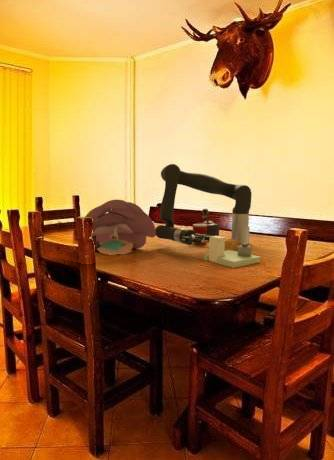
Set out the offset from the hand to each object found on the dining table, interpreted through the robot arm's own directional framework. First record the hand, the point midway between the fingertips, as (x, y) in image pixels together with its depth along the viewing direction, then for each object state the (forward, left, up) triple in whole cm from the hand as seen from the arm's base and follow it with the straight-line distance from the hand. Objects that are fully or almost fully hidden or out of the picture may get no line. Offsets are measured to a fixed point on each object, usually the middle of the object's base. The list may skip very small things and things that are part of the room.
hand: (207, 240), depth 164 cm
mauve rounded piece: (+26, -39, -8) cm, 48 cm away
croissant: (-21, -7, -9) cm, 24 cm away
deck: (-5, +10, -8) cm, 14 cm away
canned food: (-22, -30, -8) cm, 38 cm away
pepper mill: (-38, -42, -8) cm, 57 cm away
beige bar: (0, +6, -8) cm, 10 cm away
